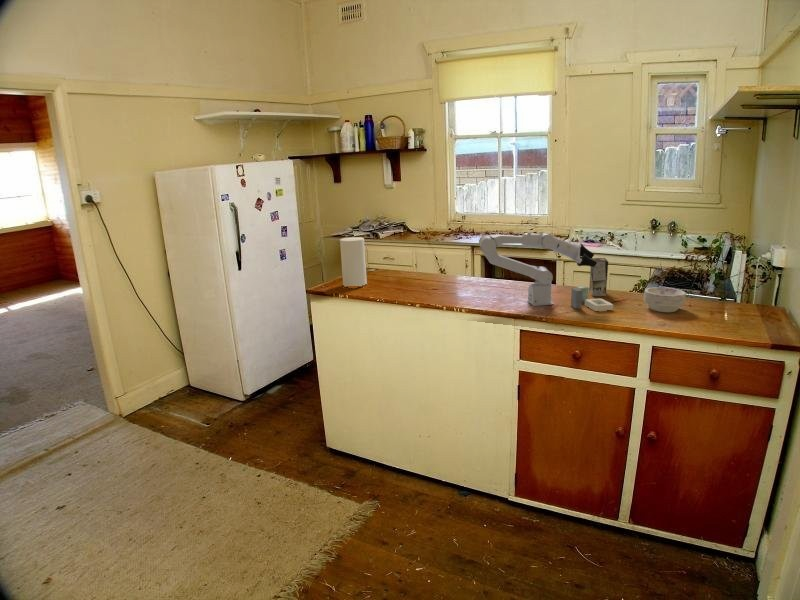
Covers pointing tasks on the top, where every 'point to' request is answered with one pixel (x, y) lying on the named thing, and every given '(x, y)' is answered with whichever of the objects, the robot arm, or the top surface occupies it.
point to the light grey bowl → (664, 299)
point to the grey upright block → (584, 293)
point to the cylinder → (353, 261)
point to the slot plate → (598, 304)
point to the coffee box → (598, 277)
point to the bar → (576, 298)
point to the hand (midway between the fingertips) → (594, 260)
